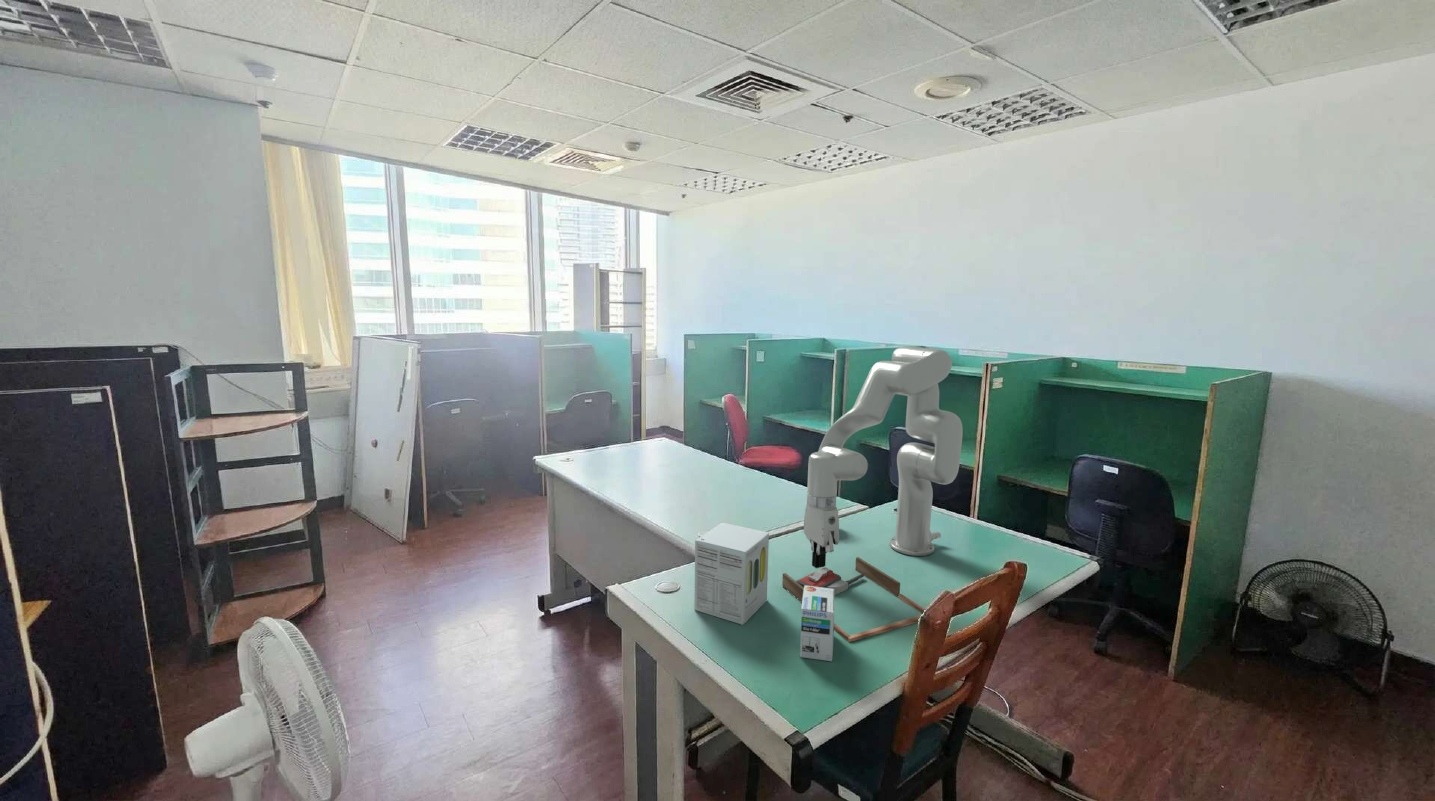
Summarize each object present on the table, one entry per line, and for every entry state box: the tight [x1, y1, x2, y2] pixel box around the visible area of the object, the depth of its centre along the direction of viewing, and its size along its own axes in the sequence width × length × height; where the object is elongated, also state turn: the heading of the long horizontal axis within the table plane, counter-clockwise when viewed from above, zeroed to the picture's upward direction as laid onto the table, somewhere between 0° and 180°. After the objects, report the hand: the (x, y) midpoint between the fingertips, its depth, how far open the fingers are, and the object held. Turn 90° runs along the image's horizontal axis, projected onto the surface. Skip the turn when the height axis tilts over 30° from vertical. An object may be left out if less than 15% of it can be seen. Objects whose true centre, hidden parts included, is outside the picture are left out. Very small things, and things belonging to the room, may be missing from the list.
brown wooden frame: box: [781, 556, 927, 643], centre depth 140 cm, size 24×27×4 cm
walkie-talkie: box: [795, 567, 865, 595], centre depth 148 cm, size 9×4×20 cm
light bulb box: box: [799, 585, 835, 662], centre depth 122 cm, size 11×7×11 cm, turn 168°
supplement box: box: [693, 522, 770, 626], centre depth 137 cm, size 13×13×18 cm
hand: (818, 566), depth 154 cm, fingers closed
